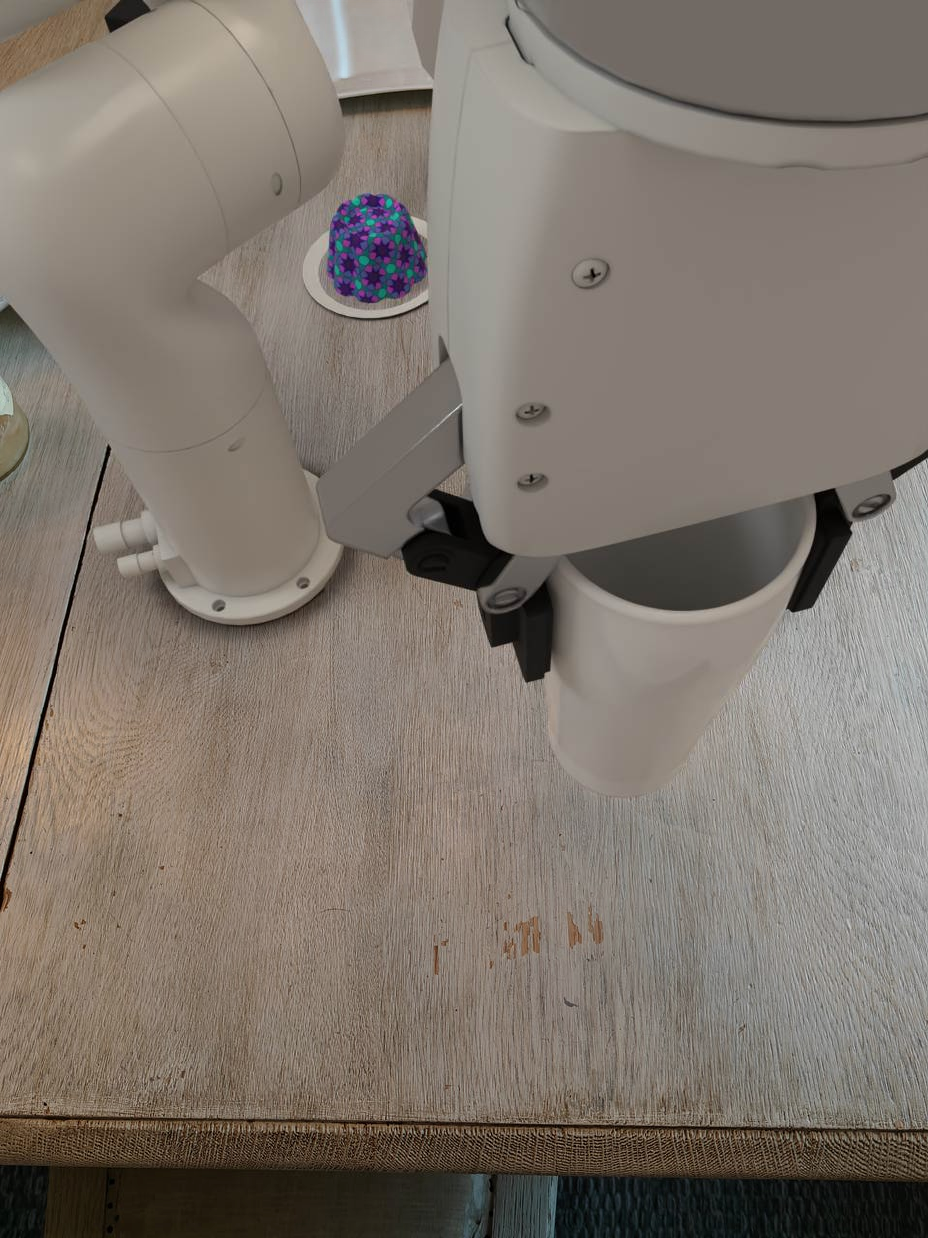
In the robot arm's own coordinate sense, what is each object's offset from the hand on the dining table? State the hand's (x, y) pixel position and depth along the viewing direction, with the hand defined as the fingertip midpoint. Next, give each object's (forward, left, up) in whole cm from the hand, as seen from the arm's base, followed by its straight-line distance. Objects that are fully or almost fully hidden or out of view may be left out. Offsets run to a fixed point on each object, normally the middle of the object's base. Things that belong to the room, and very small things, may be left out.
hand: (650, 598), depth 27 cm
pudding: (-1, +50, -30) cm, 58 cm away
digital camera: (-12, +81, -30) cm, 87 cm away
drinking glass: (0, 0, -10) cm, 10 cm away
